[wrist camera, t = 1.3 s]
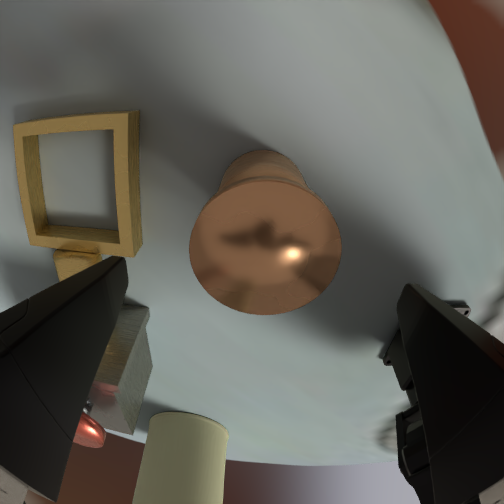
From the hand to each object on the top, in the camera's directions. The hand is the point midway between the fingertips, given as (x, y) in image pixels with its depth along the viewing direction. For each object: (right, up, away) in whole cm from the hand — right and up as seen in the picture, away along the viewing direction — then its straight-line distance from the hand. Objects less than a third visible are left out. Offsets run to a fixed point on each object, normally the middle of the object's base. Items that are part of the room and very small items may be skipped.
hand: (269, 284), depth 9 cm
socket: (-11, +5, +7) cm, 14 cm away
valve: (-12, -3, +12) cm, 17 cm away
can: (-8, -19, +21) cm, 30 cm away
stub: (0, +4, +7) cm, 9 cm away
